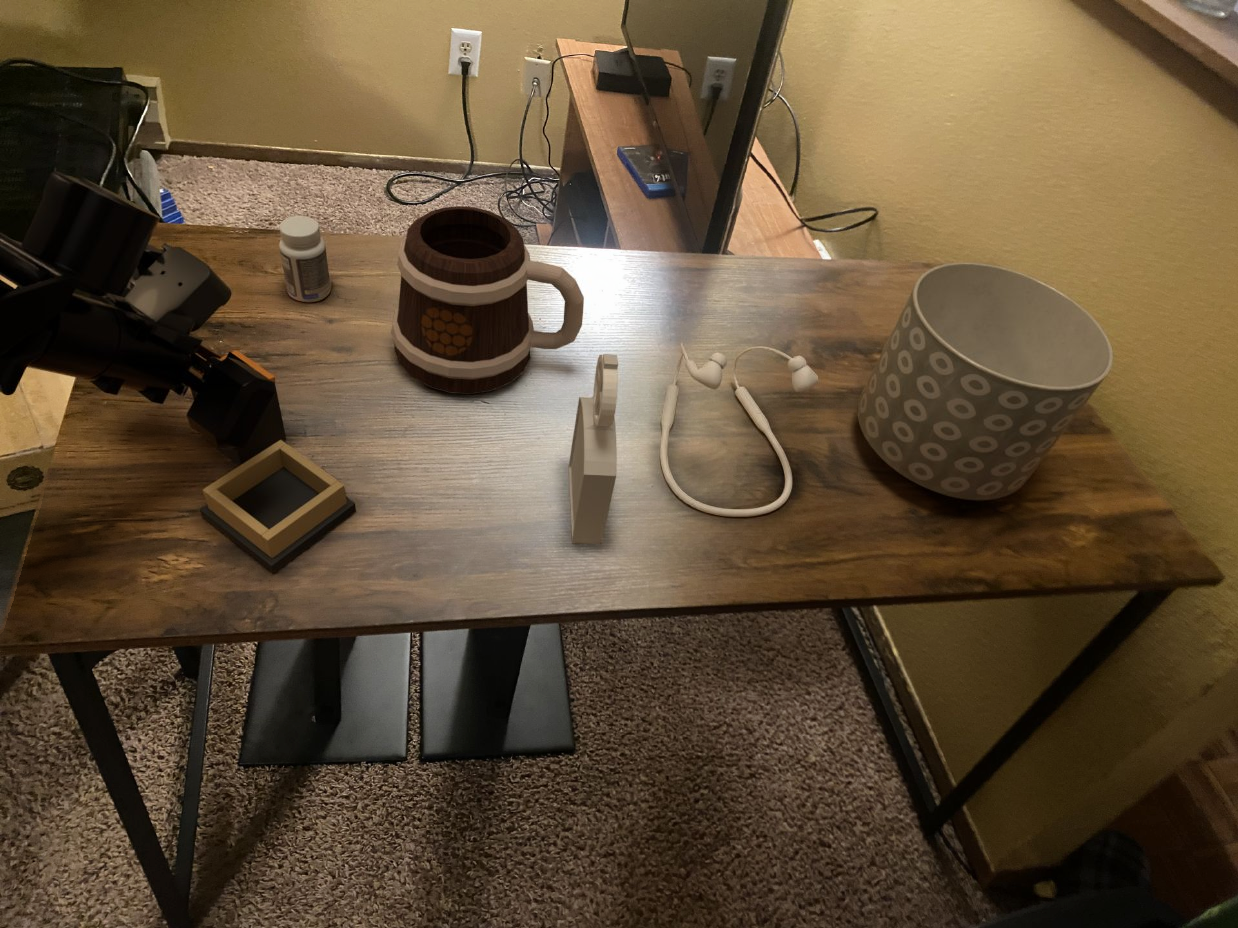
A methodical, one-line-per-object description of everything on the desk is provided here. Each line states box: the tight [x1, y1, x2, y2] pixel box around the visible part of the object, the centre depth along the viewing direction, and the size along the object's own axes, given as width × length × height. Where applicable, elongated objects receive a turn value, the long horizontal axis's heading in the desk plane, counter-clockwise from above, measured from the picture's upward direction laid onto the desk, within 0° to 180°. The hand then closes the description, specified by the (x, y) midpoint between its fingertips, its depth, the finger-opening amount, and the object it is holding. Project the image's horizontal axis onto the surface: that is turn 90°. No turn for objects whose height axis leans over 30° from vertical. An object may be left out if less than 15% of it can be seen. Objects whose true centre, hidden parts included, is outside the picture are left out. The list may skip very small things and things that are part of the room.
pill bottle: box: [278, 215, 332, 303], centre depth 92 cm, size 5×5×8 cm
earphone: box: [659, 342, 819, 518], centre depth 85 cm, size 14×17×18 cm
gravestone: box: [568, 353, 619, 545], centre depth 73 cm, size 3×9×18 cm, turn 5°
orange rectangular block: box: [189, 349, 287, 467], centre depth 76 cm, size 5×5×8 cm
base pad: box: [199, 440, 357, 575], centre depth 72 cm, size 9×9×4 cm
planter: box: [856, 261, 1114, 501], centre depth 85 cm, size 19×19×18 cm
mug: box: [390, 205, 585, 395], centre depth 86 cm, size 20×15×15 cm
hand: (247, 381), depth 75 cm, fingers closed on orange rectangular block, 5 cm apart
